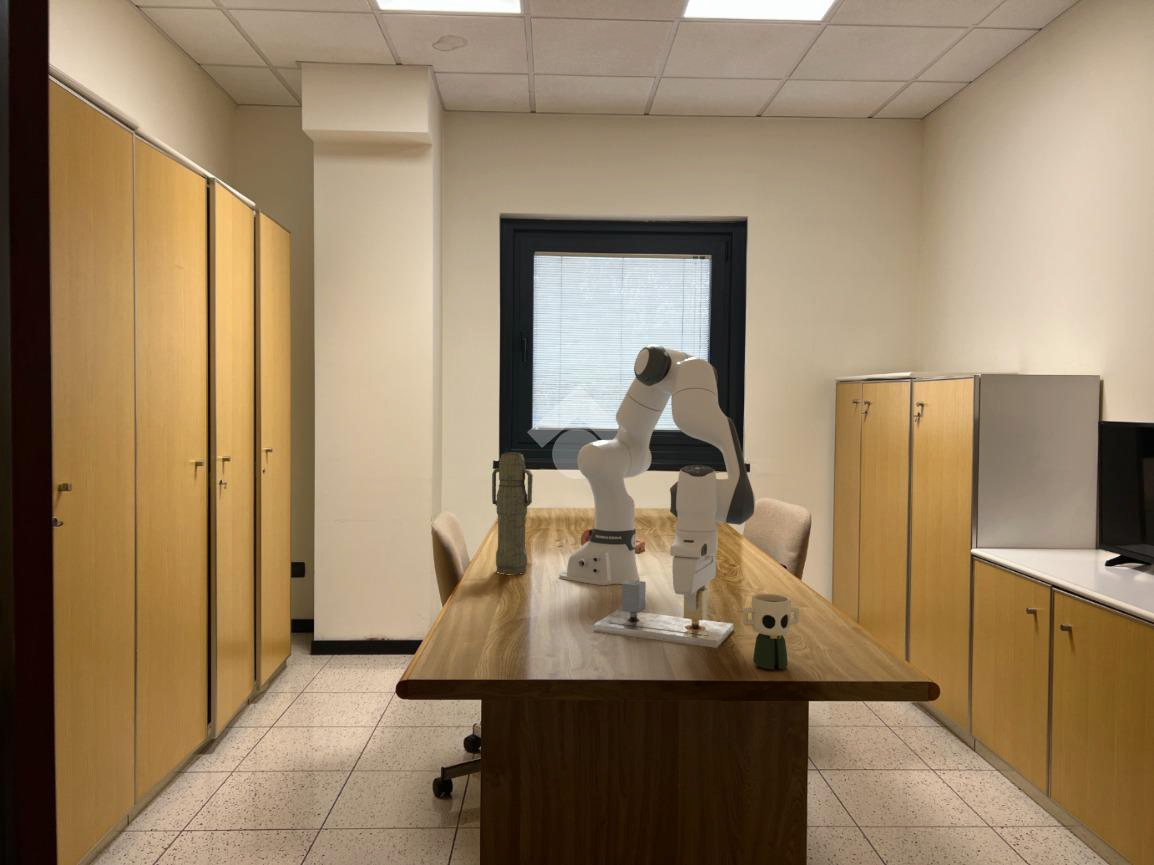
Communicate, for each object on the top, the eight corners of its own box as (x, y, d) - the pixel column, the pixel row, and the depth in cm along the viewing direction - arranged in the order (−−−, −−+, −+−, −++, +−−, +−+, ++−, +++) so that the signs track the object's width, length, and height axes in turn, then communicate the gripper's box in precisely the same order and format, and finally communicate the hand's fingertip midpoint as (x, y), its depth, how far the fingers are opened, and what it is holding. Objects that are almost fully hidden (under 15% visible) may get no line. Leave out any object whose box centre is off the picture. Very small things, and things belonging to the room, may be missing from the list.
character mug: (748, 674, 144) (749, 603, 144) (735, 661, 151) (736, 593, 151) (805, 672, 146) (807, 601, 145) (790, 659, 153) (791, 592, 152)
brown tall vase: (528, 577, 224) (529, 454, 223) (488, 576, 226) (488, 453, 225) (534, 571, 233) (535, 452, 232) (495, 569, 235) (496, 451, 234)
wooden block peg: (683, 627, 168) (684, 590, 168) (688, 623, 171) (689, 586, 171) (701, 630, 166) (702, 592, 166) (707, 625, 170) (707, 588, 170)
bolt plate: (593, 631, 171) (594, 586, 171) (617, 616, 184) (618, 573, 183) (716, 647, 160) (717, 599, 160) (733, 630, 173) (733, 585, 172)
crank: (580, 551, 267) (580, 528, 267) (590, 548, 274) (590, 525, 274) (636, 557, 259) (636, 532, 258) (644, 553, 266) (645, 529, 266)
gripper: (695, 534, 179) (694, 595, 179) (667, 548, 160) (666, 616, 161) (723, 536, 176) (722, 598, 177) (697, 551, 158) (696, 620, 158)
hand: (695, 607), depth 169 cm, fingers closed on wooden block peg, 4 cm apart
